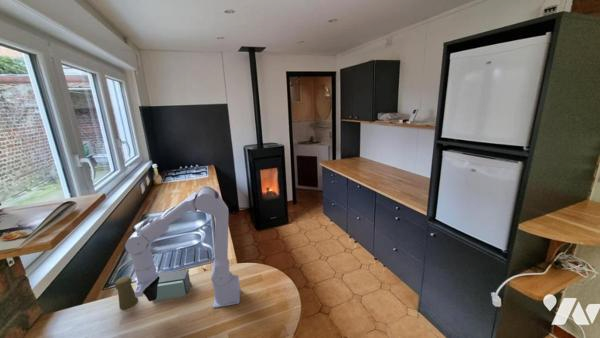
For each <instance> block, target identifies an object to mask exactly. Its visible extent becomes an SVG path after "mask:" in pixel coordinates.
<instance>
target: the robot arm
mask: <svg viewBox="0 0 600 338" xmlns="http://www.w3.org/2000/svg"><path fill="white" fill-rule="evenodd" d="M228 207H229V206H228V205H227V204H226V202H225V201H224V200H223V199H222V196H221V195H220V193H219V191H218V190H216V189H214V188H213V187H211V186H203V187H201V188H200V189H198V191H195V192H193V193H191V194H190V195H189V196H187V197H186V198H185V199H183V200H182V201H181V202H180V203H179V204H177V205H176V206H175V207H173V208H172V209H171V210H170V211H169V212H168V213H166V214H165V215H163V216H156V217H155V218H153V217H151V218H150V219H148V222H147V224H145V225H144V226H142V227H141V228H140V227H138V228H137V229H136V230H135V231H134V232H132V234H131V235H130V237H128V239H127V240H126V242H125V246H124V247H125V251H126V252H128V253H129V254H130V258H131V261H132V264H133V268H134V273H135V276H136V277H135V278H134V280H133V282H134V283H136V284H135V286H136V287H135V290H134V293H135V297H137V298H140V297H143V296H145V297H146V299H147V300H148V302H155V300H156V298H157V287H158V282H159V279H160V278H159V276H158V274H159V270H160V264H159V263H155V261H154V256H153V252H152V249H151V245H150V243H153V242H154V241H156V240H157V239H158V238H160V237H161V236H162V235H163V234H165V233H166V232H168V230H169V229H170V224H172V223H174V222H175V221H176V220H178V219H180V217H182V216H184V215H185V214H187V213H189V212H192V213H197V212H198V211H199V212H201V213H204V214H207V215H210V216H212V217H213V218H215V219H214V220H215V221H214V225H215V226H214V227H215V228H214V259H213V262H212V265H211V266H212V270H211V272H212V273H211V283H212V288H213V294H214V300H213V305H212V308H213V309H214V308H215V309H216V308H221V307H226V306H231V305H238V304H240V301H241V300H240V299H241V294H242V291H241V285H240V278H239V277H240V276H239V275H238V274H232V271H230V259H229V258H228V252H229V250H228V248H229V244H228V243H229V216H230V215H229V208H228Z"/></svg>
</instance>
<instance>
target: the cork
mask: <svg viewBox="0 0 600 338" xmlns="http://www.w3.org/2000/svg"><path fill="white" fill-rule="evenodd" d="M132 282H133V281H132V278H131V277H130V276H122V277H120V278H118V279H116V281H115V283H114V288H115V289H116V290H117V294H118V304H119V309H120V310H121V311H125V310H129V309H131V308H132V307H135V306H136V304H138V302H139V299H138V298H139V297H135V293H134V292H135V290H134V288H133V285H132Z"/></svg>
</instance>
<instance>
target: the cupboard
mask: <svg viewBox="0 0 600 338" xmlns="http://www.w3.org/2000/svg"><path fill="white" fill-rule="evenodd" d="M189 272H190V270H189V269H188V268H187V269H182V270H176V271H169V272H162V273H158V276H159V278H160V279H159V282H158V284H163V283H169V282H176V281H182V280H183V282H184V287H185V292H186V295H187V294H188V295H189V290H190V289H191V285H192V281H191V279H190V274H189Z"/></svg>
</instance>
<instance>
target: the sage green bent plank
mask: <svg viewBox="0 0 600 338" xmlns="http://www.w3.org/2000/svg"><path fill="white" fill-rule="evenodd" d="M186 295H187V294H186V292H185V287H184V282H183V280H182V281H176V282H169V283H163V284H158V287H157V298H156V300H155V301H162V300H168V299H175V298H182V297H185V296H186ZM155 301H154V302H155Z"/></svg>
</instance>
